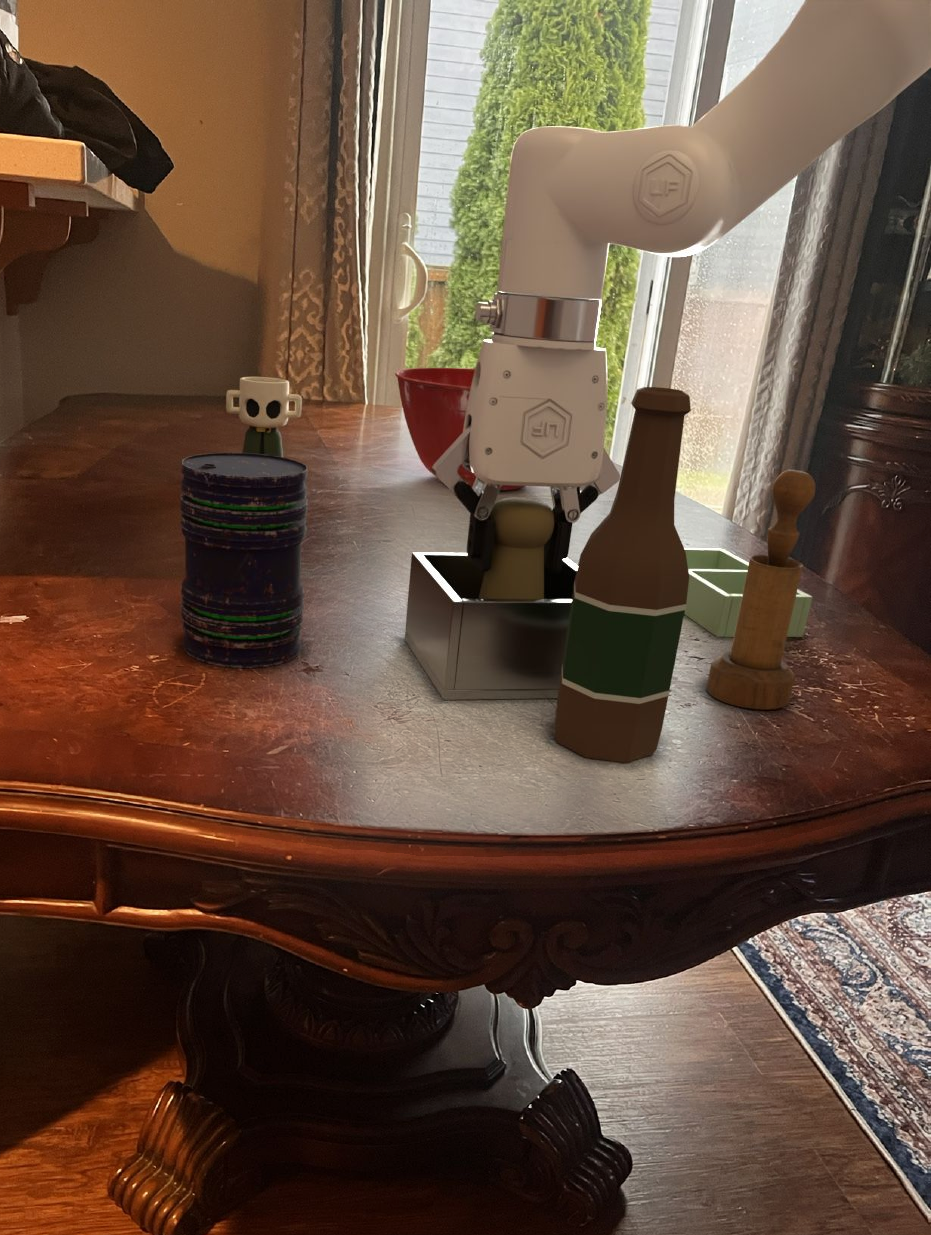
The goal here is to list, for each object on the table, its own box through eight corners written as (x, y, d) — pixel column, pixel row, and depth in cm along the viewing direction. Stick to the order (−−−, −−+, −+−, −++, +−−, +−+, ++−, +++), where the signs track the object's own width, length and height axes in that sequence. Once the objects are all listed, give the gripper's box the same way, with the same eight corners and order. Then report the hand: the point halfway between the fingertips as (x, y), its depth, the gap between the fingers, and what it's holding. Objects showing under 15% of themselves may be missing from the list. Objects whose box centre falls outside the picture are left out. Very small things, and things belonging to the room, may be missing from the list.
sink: (551, 639, 94) (563, 554, 91) (610, 697, 82) (626, 602, 79) (404, 639, 91) (411, 551, 88) (443, 700, 79) (453, 601, 76)
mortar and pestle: (713, 674, 89) (759, 459, 82) (793, 691, 87) (847, 471, 79) (699, 698, 83) (746, 470, 76) (783, 717, 81) (841, 483, 74)
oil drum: (276, 622, 93) (281, 451, 87) (321, 661, 85) (330, 475, 79) (166, 633, 89) (163, 453, 82) (203, 674, 81) (202, 478, 75)
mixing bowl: (368, 488, 150) (375, 375, 144) (408, 457, 176) (415, 360, 170) (566, 510, 145) (582, 395, 139) (577, 475, 171) (591, 376, 165)
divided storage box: (715, 584, 116) (723, 548, 114) (803, 637, 100) (813, 596, 99) (639, 583, 114) (645, 547, 112) (716, 637, 98) (725, 596, 97)
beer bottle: (572, 709, 79) (624, 378, 70) (673, 737, 76) (741, 393, 66) (531, 743, 73) (581, 385, 64) (639, 775, 70) (709, 401, 60)
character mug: (223, 472, 153) (224, 379, 147) (227, 463, 159) (228, 374, 154) (298, 477, 153) (302, 384, 148) (299, 468, 160) (302, 379, 155)
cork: (456, 633, 85) (470, 498, 80) (493, 617, 90) (508, 488, 85) (522, 652, 82) (540, 512, 77) (556, 634, 87) (575, 501, 82)
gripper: (444, 320, 71) (422, 580, 78) (676, 335, 75) (634, 582, 82) (419, 313, 78) (400, 553, 85) (633, 327, 81) (597, 556, 89)
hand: (515, 564), depth 83 cm, fingers closed on cork, 5 cm apart
